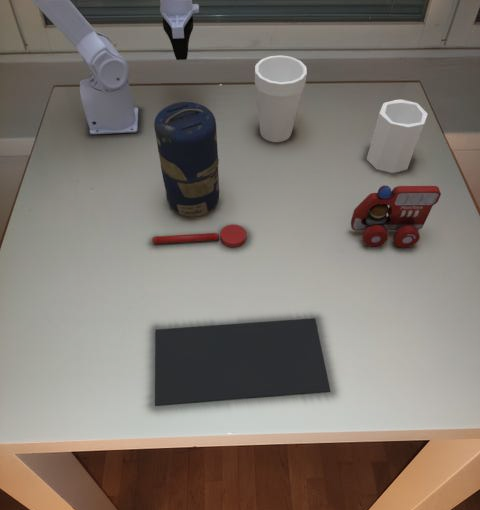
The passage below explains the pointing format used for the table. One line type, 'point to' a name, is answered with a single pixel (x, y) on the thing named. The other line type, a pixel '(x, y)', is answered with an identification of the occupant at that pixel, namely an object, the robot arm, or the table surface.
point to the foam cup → (278, 95)
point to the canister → (188, 157)
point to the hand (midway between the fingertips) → (181, 58)
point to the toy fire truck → (394, 214)
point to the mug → (396, 135)
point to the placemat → (238, 361)
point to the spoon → (209, 237)
